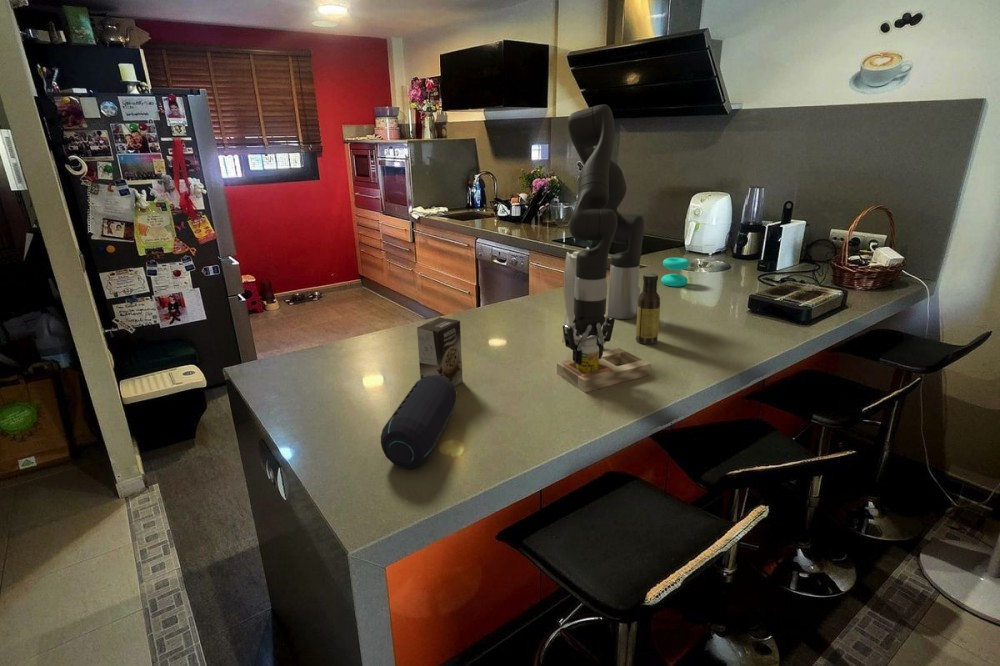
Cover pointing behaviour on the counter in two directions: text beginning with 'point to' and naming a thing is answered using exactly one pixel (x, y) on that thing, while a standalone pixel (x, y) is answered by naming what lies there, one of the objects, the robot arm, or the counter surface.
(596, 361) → the supplement bottle
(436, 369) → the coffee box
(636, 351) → the counter surface
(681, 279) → the donuts
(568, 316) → the skyscraper
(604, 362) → the cup caddy
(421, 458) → the portable speaker
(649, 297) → the sauce bottle
